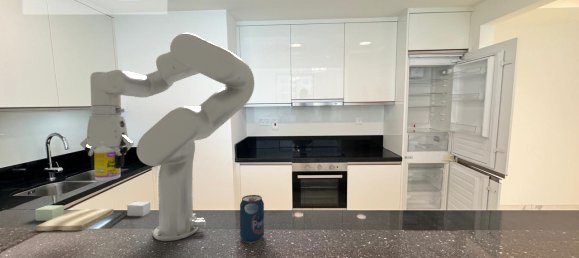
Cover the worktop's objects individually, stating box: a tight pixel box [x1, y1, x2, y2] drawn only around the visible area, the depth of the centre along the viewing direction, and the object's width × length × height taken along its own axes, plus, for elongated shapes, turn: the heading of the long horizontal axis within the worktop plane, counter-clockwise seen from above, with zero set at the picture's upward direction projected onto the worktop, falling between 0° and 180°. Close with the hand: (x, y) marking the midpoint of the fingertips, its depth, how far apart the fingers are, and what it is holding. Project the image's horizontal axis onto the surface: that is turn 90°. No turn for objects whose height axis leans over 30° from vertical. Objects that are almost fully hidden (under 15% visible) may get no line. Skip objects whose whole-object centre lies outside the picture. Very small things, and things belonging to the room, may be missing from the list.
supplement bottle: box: [94, 141, 121, 182], centre depth 77 cm, size 7×7×13 cm
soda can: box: [239, 194, 265, 244], centre depth 70 cm, size 7×7×12 cm
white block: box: [126, 201, 151, 217], centre depth 88 cm, size 6×4×4 cm, turn 86°
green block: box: [34, 204, 65, 222], centre depth 84 cm, size 6×4×4 cm, turn 89°
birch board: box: [35, 208, 114, 232], centre depth 82 cm, size 14×14×2 cm
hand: (107, 167), depth 77 cm, fingers closed on supplement bottle, 6 cm apart
